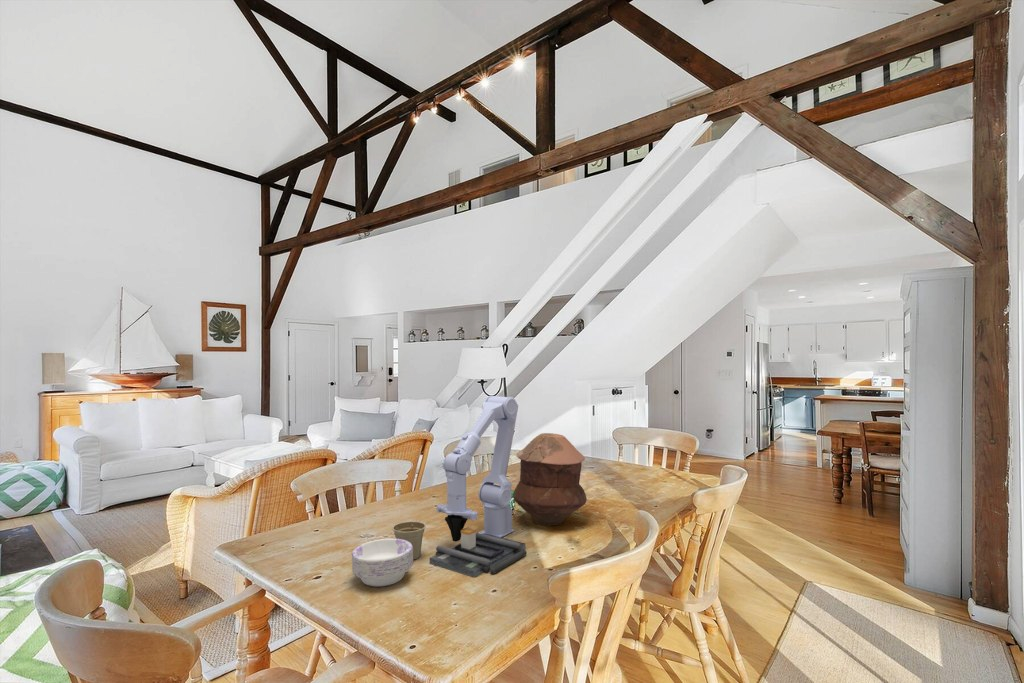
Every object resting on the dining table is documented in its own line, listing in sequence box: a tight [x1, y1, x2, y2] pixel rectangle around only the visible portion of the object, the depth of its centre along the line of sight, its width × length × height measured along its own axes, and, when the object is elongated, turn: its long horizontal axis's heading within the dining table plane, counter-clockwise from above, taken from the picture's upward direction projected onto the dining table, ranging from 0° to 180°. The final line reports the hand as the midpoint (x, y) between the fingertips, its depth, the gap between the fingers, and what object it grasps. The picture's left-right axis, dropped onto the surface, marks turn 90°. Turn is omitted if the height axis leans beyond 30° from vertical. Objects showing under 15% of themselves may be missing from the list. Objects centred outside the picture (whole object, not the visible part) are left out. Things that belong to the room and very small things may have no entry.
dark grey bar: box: [476, 532, 521, 554], centre depth 152 cm, size 2×19×3 cm, turn 55°
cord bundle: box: [434, 545, 527, 575], centre depth 144 cm, size 16×21×3 cm
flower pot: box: [391, 520, 427, 560], centre depth 145 cm, size 9×9×9 cm
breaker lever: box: [460, 526, 477, 550], centre depth 148 cm, size 3×3×5 cm
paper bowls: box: [351, 538, 414, 588], centre depth 130 cm, size 15×15×8 cm
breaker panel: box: [429, 533, 527, 578], centre depth 145 cm, size 24×16×2 cm, turn 145°
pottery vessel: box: [512, 432, 588, 527], centre depth 176 cm, size 26×26×30 cm
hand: (456, 540), depth 150 cm, fingers closed
